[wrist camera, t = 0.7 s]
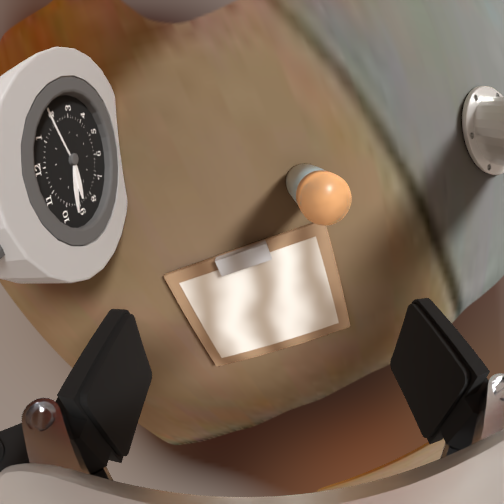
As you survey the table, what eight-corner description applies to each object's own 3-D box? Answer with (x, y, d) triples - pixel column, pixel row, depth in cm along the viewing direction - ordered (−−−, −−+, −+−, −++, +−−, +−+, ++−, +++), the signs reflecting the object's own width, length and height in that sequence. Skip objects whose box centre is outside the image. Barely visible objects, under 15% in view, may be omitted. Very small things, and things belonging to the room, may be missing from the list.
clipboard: (323, 218, 32) (326, 222, 30) (349, 323, 38) (352, 330, 36) (164, 274, 34) (161, 280, 33) (216, 363, 40) (216, 371, 39)
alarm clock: (134, 237, 32) (39, 346, 14) (85, 241, 32) (-14, 334, 14) (113, 62, 24) (-17, 25, 5) (63, 80, 24) (-66, 76, 6)
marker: (313, 156, 29) (343, 166, 20) (324, 191, 31) (356, 215, 21) (278, 168, 30) (292, 182, 20) (290, 203, 31) (308, 232, 22)
